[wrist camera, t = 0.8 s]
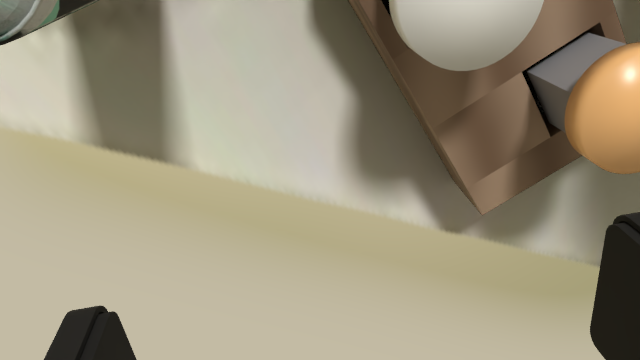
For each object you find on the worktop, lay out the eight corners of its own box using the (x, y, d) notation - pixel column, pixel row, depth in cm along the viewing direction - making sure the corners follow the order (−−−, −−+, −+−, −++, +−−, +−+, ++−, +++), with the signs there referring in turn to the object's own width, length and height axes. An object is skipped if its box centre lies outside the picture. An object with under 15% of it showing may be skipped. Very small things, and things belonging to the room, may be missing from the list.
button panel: (491, -201, 27) (539, -226, 23) (599, 92, 36) (649, 115, 32) (308, -68, 29) (320, -67, 25) (454, 181, 38) (482, 215, 33)
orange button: (599, 2, 29) (692, 20, 23) (629, 91, 32) (719, 128, 26) (500, 66, 30) (565, 99, 24) (538, 147, 33) (604, 195, 27)
